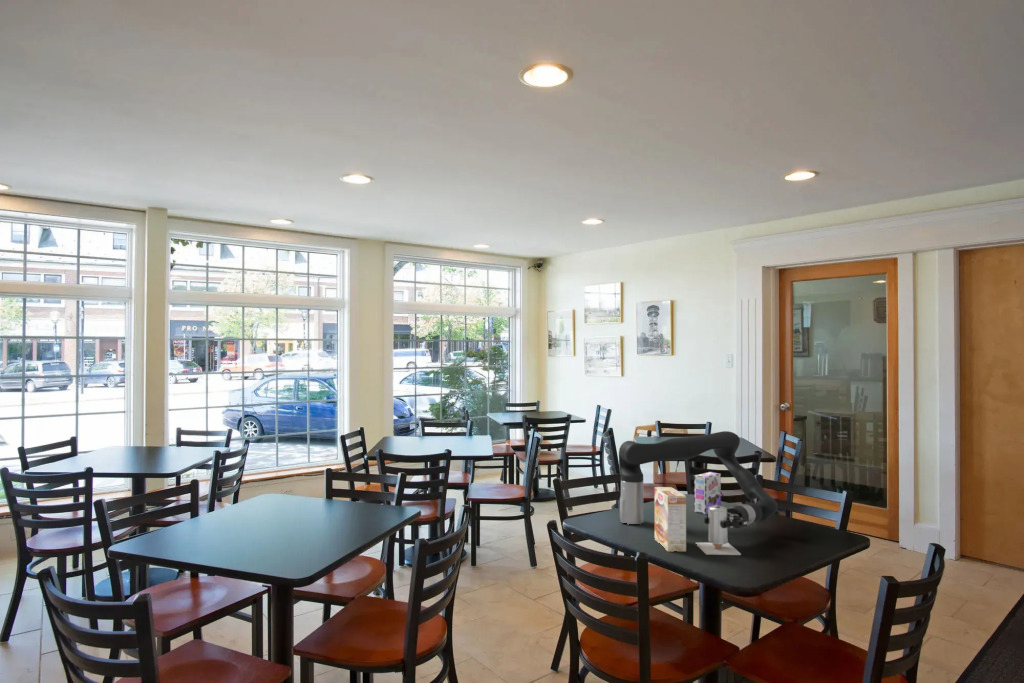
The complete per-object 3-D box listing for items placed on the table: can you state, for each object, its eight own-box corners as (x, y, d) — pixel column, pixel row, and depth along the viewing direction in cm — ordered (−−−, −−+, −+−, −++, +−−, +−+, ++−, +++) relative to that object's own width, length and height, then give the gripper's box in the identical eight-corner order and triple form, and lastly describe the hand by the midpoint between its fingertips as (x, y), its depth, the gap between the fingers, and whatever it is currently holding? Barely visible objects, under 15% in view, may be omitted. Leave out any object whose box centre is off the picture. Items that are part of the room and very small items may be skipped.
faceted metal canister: (712, 544, 206) (711, 507, 206) (706, 538, 212) (706, 503, 213) (729, 544, 206) (729, 507, 206) (723, 539, 212) (723, 503, 212)
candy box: (705, 514, 257) (705, 476, 257) (693, 512, 261) (693, 474, 262) (721, 509, 266) (721, 473, 267) (709, 507, 270) (709, 471, 271)
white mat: (706, 554, 203) (706, 553, 203) (695, 543, 215) (695, 542, 215) (740, 555, 203) (740, 553, 203) (728, 544, 215) (728, 542, 215)
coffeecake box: (653, 539, 220) (653, 486, 221) (672, 538, 221) (672, 486, 221) (667, 552, 205) (667, 495, 206) (686, 551, 206) (686, 495, 206)
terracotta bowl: (714, 549, 207) (714, 541, 207) (711, 546, 210) (711, 539, 211) (723, 549, 207) (723, 542, 207) (720, 546, 210) (720, 539, 210)
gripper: (722, 501, 224) (696, 508, 214) (758, 509, 212) (732, 516, 202) (723, 521, 223) (696, 529, 213) (758, 530, 212) (732, 538, 202)
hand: (714, 522), depth 208 cm, fingers closed on faceted metal canister, 6 cm apart
